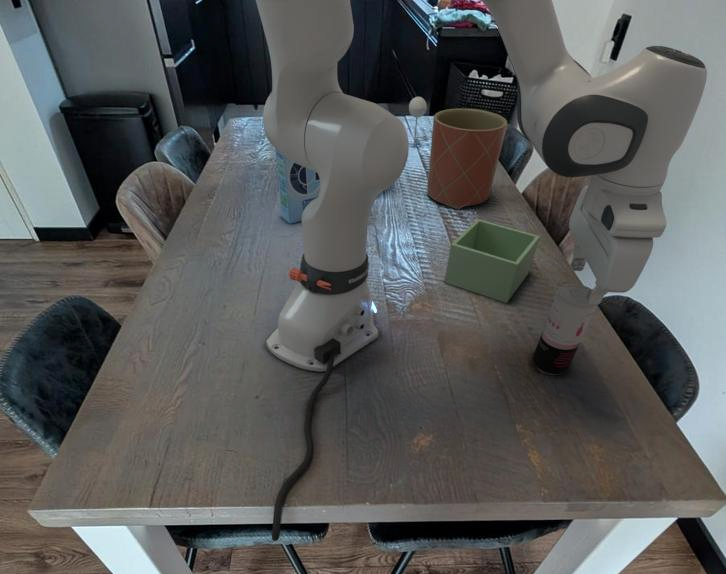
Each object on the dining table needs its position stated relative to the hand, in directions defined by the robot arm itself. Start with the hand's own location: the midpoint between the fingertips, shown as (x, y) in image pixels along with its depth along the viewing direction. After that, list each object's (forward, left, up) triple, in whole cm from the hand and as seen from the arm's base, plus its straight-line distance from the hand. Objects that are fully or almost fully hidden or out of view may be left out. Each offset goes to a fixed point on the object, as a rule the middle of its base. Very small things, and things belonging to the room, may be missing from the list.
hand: (583, 284), depth 75 cm
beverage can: (0, 0, -17) cm, 17 cm away
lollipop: (+89, +75, -17) cm, 118 cm away
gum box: (+27, +72, -17) cm, 79 cm away
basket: (+22, +21, -17) cm, 35 cm away
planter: (+59, +45, -17) cm, 76 cm away
